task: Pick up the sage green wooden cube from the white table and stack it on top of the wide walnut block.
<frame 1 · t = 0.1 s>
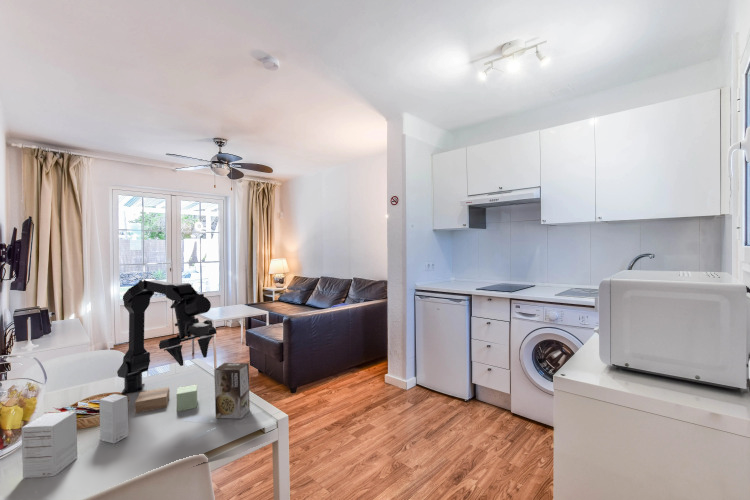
hand: (193, 361, 117), 15 cm above the table, tool pointing down, fingers open, 9 cm apart
skincare box: (114, 438, 97), on the table
supplement box: (51, 468, 84), on the table
sage cube: (187, 406, 117), on the table
walnut block: (153, 405, 118), on the table
grey cardboard box: (232, 414, 110), on the table
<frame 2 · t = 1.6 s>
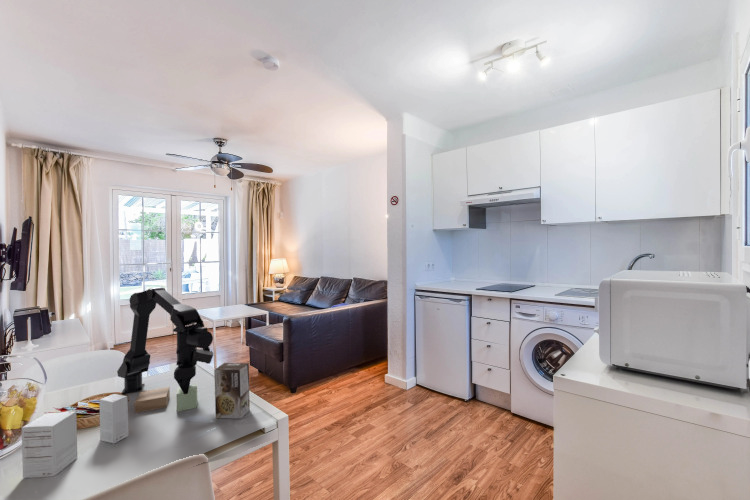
hand: (186, 388, 117), 6 cm above the table, tool pointing down, fingers open, 9 cm apart
nothing on the table moved.
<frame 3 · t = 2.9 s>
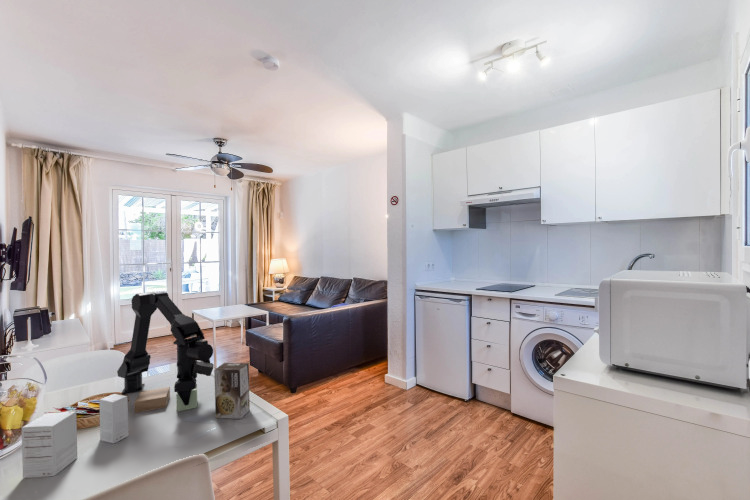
hand: (187, 401, 117), 2 cm above the table, tool pointing down, fingers closed on sage cube, 6 cm apart
sage cube: (187, 405, 117), on the table, touching gripper
everything else where it was.
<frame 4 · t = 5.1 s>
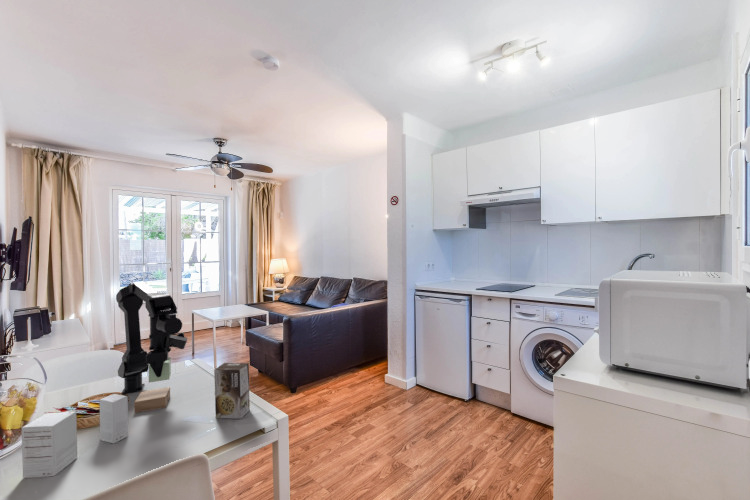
hand: (160, 373, 118), 11 cm above the table, tool pointing down, fingers closed on sage cube, 6 cm apart
sage cube: (160, 377, 118), point 9 cm above the table, touching gripper
everything else where it was.
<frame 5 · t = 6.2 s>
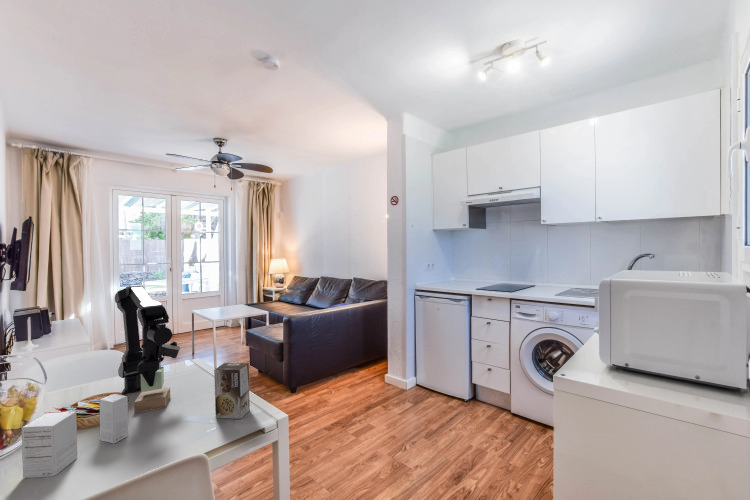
hand: (152, 383, 118), 8 cm above the table, tool pointing down, fingers closed on sage cube, 6 cm apart
sage cube: (152, 387, 118), point 6 cm above the table, touching gripper
everything else where it was.
when the fingers open (7 cm above the table, at t = 7.2 s): sage cube drops 2 cm, point 4 cm above the table.
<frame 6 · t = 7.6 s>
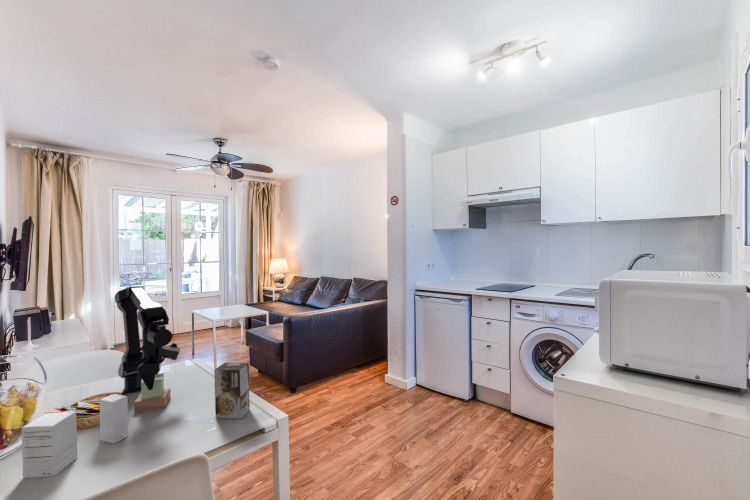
hand: (152, 384, 118), 7 cm above the table, tool pointing down, fingers open, 9 cm apart
sage cube: (153, 394, 118), point 4 cm above the table
everything else where it was.
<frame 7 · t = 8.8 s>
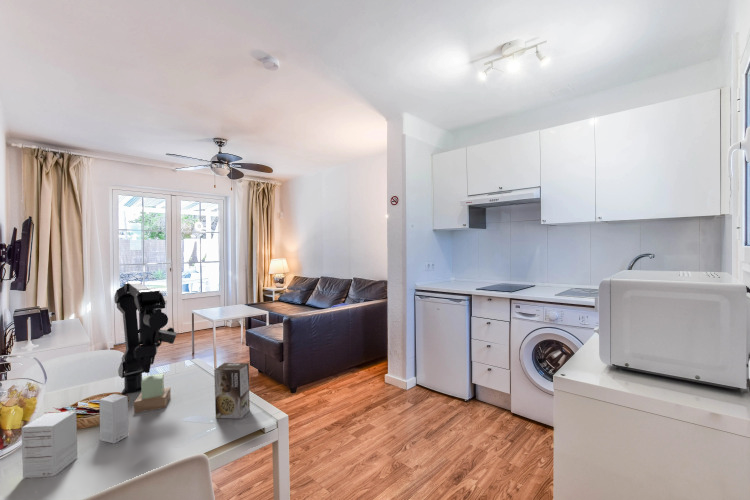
hand: (149, 368, 118), 13 cm above the table, tool pointing down, fingers open, 9 cm apart
nothing on the table moved.
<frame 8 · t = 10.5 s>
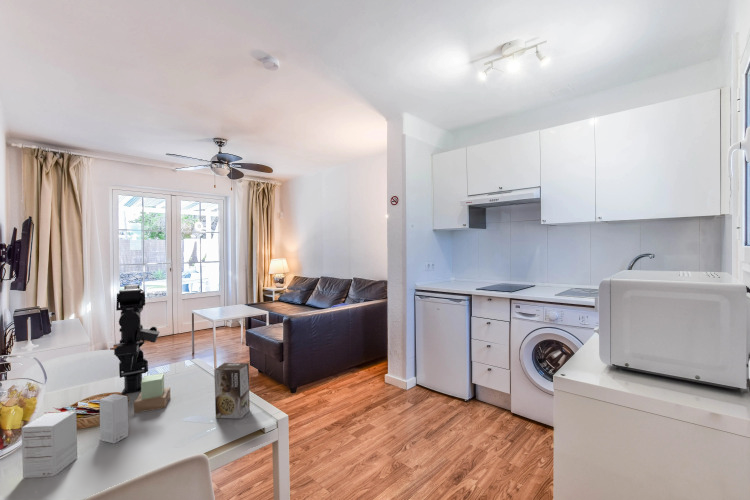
hand: (131, 367, 119), 13 cm above the table, tool pointing down, fingers open, 9 cm apart
sage cube: (153, 394, 118), point 4 cm above the table, touching walnut block
walnut block: (153, 405, 118), on the table, touching sage cube
everything else where it was.
at the end: sage cube 0.1 cm off-centre on the walnut block, point 4.0 cm above the walnut block's base; sage cube tilted 0°; the gripper is holding nothing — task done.
